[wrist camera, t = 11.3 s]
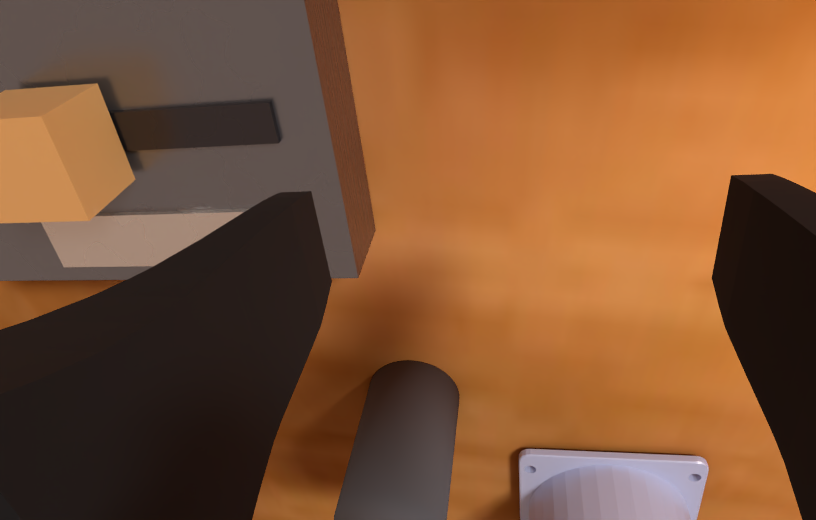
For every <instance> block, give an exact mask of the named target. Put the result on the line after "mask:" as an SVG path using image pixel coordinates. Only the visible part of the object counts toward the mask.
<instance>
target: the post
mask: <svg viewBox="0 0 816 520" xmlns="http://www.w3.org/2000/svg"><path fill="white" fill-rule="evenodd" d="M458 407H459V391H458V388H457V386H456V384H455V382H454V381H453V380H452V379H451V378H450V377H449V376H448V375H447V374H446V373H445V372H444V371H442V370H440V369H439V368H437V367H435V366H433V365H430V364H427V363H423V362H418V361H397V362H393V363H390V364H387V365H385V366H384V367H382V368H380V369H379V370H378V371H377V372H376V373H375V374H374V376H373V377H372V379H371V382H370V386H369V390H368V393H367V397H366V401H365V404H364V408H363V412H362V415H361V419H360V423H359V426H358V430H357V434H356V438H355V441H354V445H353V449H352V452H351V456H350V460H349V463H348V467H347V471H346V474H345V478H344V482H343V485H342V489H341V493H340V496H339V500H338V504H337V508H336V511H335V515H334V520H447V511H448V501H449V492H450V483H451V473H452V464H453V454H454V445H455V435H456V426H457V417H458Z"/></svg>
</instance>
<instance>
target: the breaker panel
mask: <svg viewBox="0 0 816 520" xmlns="http://www.w3.org/2000/svg"><path fill="white" fill-rule="evenodd" d="M95 83H97V84H98V86H99V89H100V91H101V94H102V96H103V99H104V101H105V104H106V106H107V109H108V111H109V114H110V116H111V119H112V121H113V124H114V126H115V129H116V131H117V134H118V136H119V139H120V142H121V144H122V147H123V149H124V152H125V154H126V157H127V159H128V162H129V164H130V167H131V169H132V172H133V174H134V177H135V179H136V180H134V181H133V182H132V183H131V184H130V185H129V186H128V187H127V188H126V189H124V190H123V191H122V192H121V193H120V194H119V195H118V196H117V197H116V198H114V199H113V200H112V201H111V202H110V203H109V204H108V205H107V206H105V207H104V208H103V209H102V210H101V211H100V212H99V213H98V214H97V215H95V216H94V217H93V218H92V219H91V220H90V221H69V222H32V223H0V281H26V280H128V279H130V278H132V277H134V276H136V275H138V274H140V273H142V272H144V271H145V270H147V269H149V268H151V267H153V266H155V265H157V264H158V263H160V262H162V261H164V260H165V259H167V258H169V257H171V256H172V255H174V254H176V253H178V252H179V251H181V250H183V249H185V248H186V247H188V246H190V245H191V244H193V243H195V242H197V241H198V240H200V239H202V238H203V237H205V236H207V235H208V234H210V233H211V232H213V231H215V230H216V229H218V228H219V227H221V226H223V225H224V224H226V223H227V222H229V221H231V220H232V219H234V218H235V217H237V216H239V215H240V214H242V213H243V212H245V211H247V210H248V209H250V208H252V207H253V206H255V205H257V204H258V203H260V202H262V201H263V200H265V199H267V198H269V197H271V196H273V195H275V194H278V193H280V192H302V191H311V192H312V197H313V201H314V205H315V210H316V214H317V219H318V223H319V227H320V232H321V236H322V240H323V245H324V249H325V254H326V258H327V262H328V267H329V271H330V276H331V278H358V277H359V275H360V272H361V269H362V266H363V264H364V261H365V258H366V255H367V252H368V250H369V247H370V244H371V241H372V239H373V236H374V233H375V224H374V218H373V212H372V206H371V200H370V194H369V188H368V182H367V176H366V170H365V164H364V158H363V152H362V146H361V140H360V134H359V128H358V122H357V116H356V110H355V104H354V98H353V92H352V86H351V81H350V75H349V69H348V63H347V57H346V51H345V45H344V39H343V33H342V27H341V21H340V15H339V9H338V3H337V0H0V93H1V92H3V91H5V90H14V89H27V88H41V87H55V86H68V85H82V84H95Z"/></svg>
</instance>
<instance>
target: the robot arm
mask: <svg viewBox="0 0 816 520" xmlns="http://www.w3.org/2000/svg"><path fill="white" fill-rule="evenodd" d="M712 280H713V284H714V288H715V292H716V296H717V300H718V304H719V308H720V311H721V315H722V318H723V322H724V325H725V328H726V330H727V333H728V335H729V337H730V340H731V342H732V344H733V346H734V349H735V351H736V353H737V356H738V358H739V360H740V362H741V365H742V367H743V369H744V371H745V373H746V376H747V378H748V380H749V382H750V384H751V387H752V389H753V391H754V393H755V395H756V398H757V400H758V402H759V404H760V406H761V409H762V411H763V413H764V415H765V417H766V420H767V422H768V424H769V426H770V429H771V431H772V433H773V435H774V437H775V440H776V443H777V445H778V448H779V450H780V453H781V455H782V458H783V460H784V463H785V466H786V469H787V472H788V475H789V478H790V482H791V485H792V488H793V491H794V494H795V497H796V501H797V504H798V507H799V510H800V513H801V516H802V520H816V193H815V192H813V191H811V190H809V189H807V188H804V187H802V186H800V185H798V184H796V183H794V182H792V181H789V180H787V179H785V178H782V177H780V176H777V175H774V174H759V175H732V176H731V180H730V185H729V190H728V195H727V201H726V206H725V211H724V217H723V222H722V227H721V232H720V238H719V243H718V248H717V254H716V259H715V264H714V269H713V275H712ZM331 282H332V280H331V276H330V271H329V267H328V262H327V258H326V254H325V249H324V245H323V240H322V236H321V232H320V227H319V223H318V219H317V214H316V210H315V205H314V201H313V197H312V192H311V191H302V192H280V193H278V194H275V195H273V196H271V197H269V198H267V199H265V200H263V201H262V202H260V203H258V204H257V205H255V206H253V207H252V208H250V209H248V210H247V211H245V212H243V213H242V214H240V215H239V216H237V217H235V218H234V219H232V220H231V221H229V222H227V223H226V224H224V225H223V226H221V227H219V228H218V229H216V230H215V231H213V232H211V233H210V234H208V235H207V236H205V237H203V238H202V239H200V240H198V241H197V242H195V243H193V244H191V245H190V246H188V247H186V248H185V249H183V250H181V251H179V252H178V253H176V254H174V255H172V256H171V257H169V258H167V259H165V260H164V261H162V262H160V263H158V264H157V265H155V266H153V267H151V268H149V269H147V270H145V271H144V272H142V273H140V274H138V275H136V276H134V277H132V278H130V279H128V280H125V281H123V282H121V283H119V284H117V285H115V286H113V287H110V288H108V289H106V290H104V291H102V292H100V293H97V294H95V295H93V296H90V297H88V298H85V299H83V300H80V301H78V302H75V303H73V304H70V305H68V306H65V307H62V308H60V309H57V310H55V311H52V312H50V313H47V314H44V315H42V316H39V317H37V318H34V319H31V320H29V321H26V322H23V323H20V324H17V325H14V326H11V327H8V328H5V329H2V330H0V520H252V517H253V514H254V510H255V506H256V502H257V498H258V494H259V491H260V487H261V484H262V480H263V477H264V473H265V470H266V466H267V463H268V460H269V456H270V453H271V449H272V446H273V442H274V439H275V437H276V434H277V431H278V428H279V426H280V423H281V420H282V418H283V415H284V413H285V411H286V408H287V406H288V403H289V401H290V399H291V396H292V394H293V392H294V389H295V387H296V384H297V382H298V380H299V377H300V375H301V373H302V370H303V368H304V365H305V363H306V361H307V358H308V356H309V353H310V351H311V349H312V346H313V344H314V341H315V339H316V336H317V334H318V331H319V329H320V326H321V323H322V319H323V316H324V312H325V308H326V304H327V300H328V295H329V291H330V287H331ZM708 470H709V469H708V464H707V461H706V460H705V459H704V458H702V457H700V456H688V455H665V454H642V453H618V452H595V451H572V450H549V449H525V450H522V451H521V452H520V453H519V491H520V520H697V516H698V512H699V508H700V504H701V500H702V495H703V491H704V487H705V483H706V479H707V475H708Z"/></svg>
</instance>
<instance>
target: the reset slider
mask: <svg viewBox="0 0 816 520" xmlns="http://www.w3.org/2000/svg"><path fill="white" fill-rule="evenodd" d="M134 180H136V179H135V177H134V174H133V172H132V169H131V167H130V164H129V162H128V159H127V157H126V154H125V152H124V149H123V147H122V144H121V142H120V139H119V136H118V134H117V131H116V129H115V126H114V124H113V121H112V119H111V116H110V114H109V111H108V109H107V106H106V104H105V101H104V99H103V96H102V94H101V91H100V89H99V86H98V84H97V83H95V84H82V85H68V86H55V87H41V88H27V89H14V90H5V91H3V92H1V93H0V223H32V222H69V221H90V220H91V219H92V218H93V217H94V216H95V215H97V214H98V213H99V212H100V211H101V210H102V209H103V208H104V207H105V206H107V205H108V204H109V203H110V202H111V201H112V200H113V199H114V198H116V197H117V196H118V195H119V194H120V193H121V192H122V191H123V190H124V189H126V188H127V187H128V186H129V185H130V184H131V183H132V182H133V181H134Z"/></svg>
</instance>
